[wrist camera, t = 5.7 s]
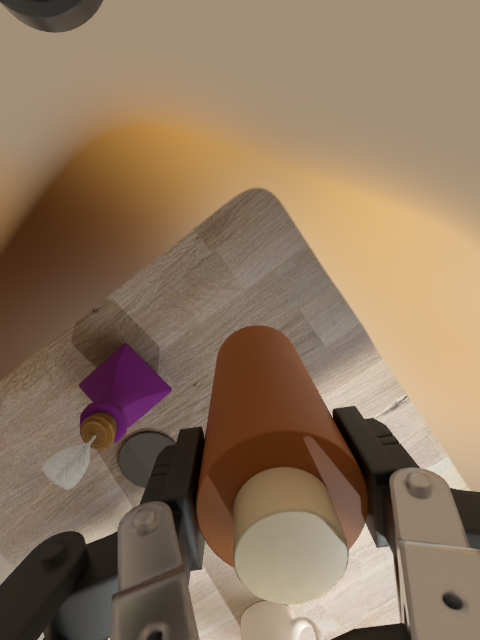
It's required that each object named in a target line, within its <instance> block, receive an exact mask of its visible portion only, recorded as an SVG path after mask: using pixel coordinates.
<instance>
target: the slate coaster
mask: <svg viewBox="0 0 480 640" xmlns="http://www.w3.org/2000/svg"><path fill="white" fill-rule="evenodd" d="M168 445H176V443H175V442H174V441H173V440H172V439H171V438H169V437H168V436H166V435H164V434H161V433H158V432H142V433H139V434H136V435H134V436H132V437H131V438H129V439H128V440H127V441H126V442H125V444H124V445H123V447H122V449H121V451H120V455H119V464H120V468H121V470H122V472H123V474H124V475H125V476H126V478H127V479H128V480H130V481H131V482H132V483H134V484H136V485H138V486H140V487H144V488H146V486H147V483H148V480H149V478H150V477H151V472H152V469H153V468H154V464H155V461H156V458H157V455H158V454H159V453H160V452H161V451H162V450H163V449H164V448H165V447H166V446H168Z"/></svg>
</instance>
